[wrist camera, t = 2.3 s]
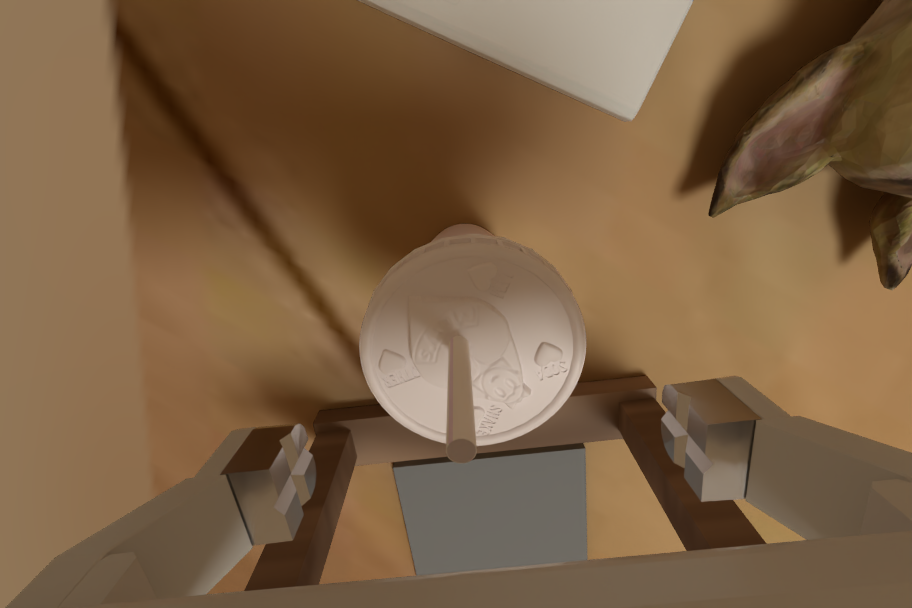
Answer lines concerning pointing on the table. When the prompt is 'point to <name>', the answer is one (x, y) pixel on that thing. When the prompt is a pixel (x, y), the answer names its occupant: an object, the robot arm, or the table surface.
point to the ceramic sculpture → (840, 133)
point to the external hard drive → (560, 41)
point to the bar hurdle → (578, 421)
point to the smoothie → (472, 340)
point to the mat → (495, 509)
